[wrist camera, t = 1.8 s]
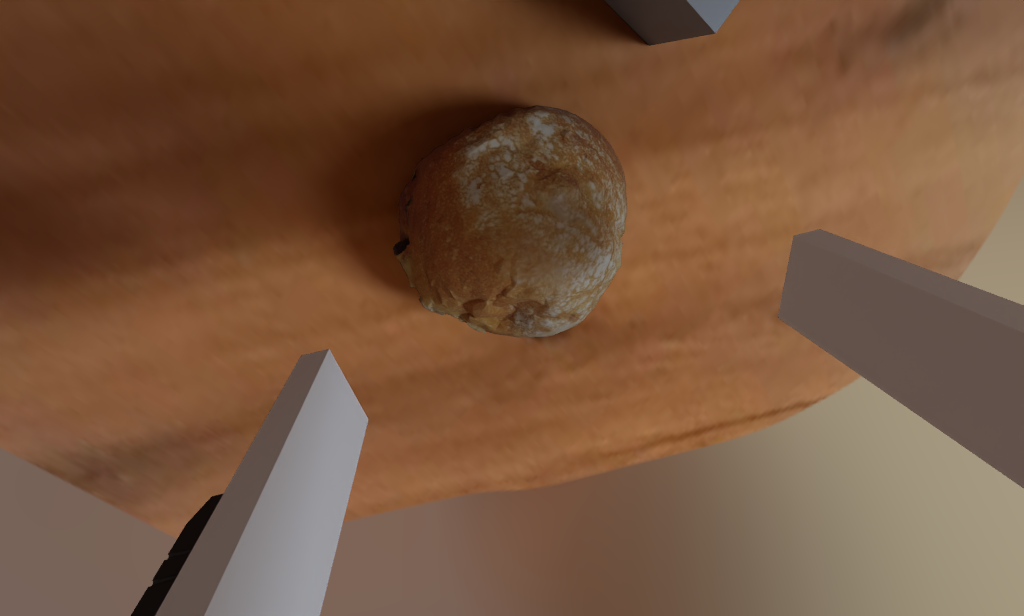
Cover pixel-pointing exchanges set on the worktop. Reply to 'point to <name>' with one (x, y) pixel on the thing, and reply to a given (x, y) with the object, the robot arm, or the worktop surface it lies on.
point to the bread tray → (672, 17)
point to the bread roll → (515, 223)
